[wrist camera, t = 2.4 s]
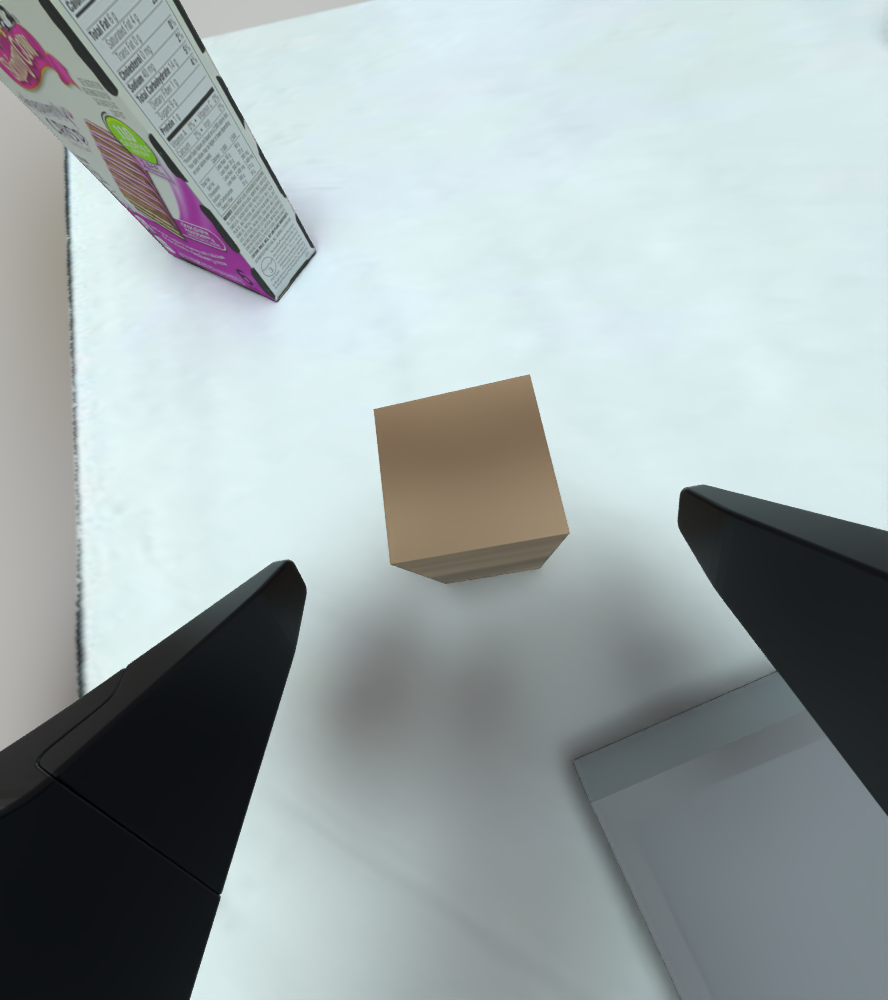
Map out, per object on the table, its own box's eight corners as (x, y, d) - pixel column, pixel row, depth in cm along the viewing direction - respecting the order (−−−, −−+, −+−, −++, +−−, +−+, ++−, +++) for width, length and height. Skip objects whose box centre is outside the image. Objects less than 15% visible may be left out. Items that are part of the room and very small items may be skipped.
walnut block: (539, 568, 18) (569, 533, 9) (445, 583, 18) (390, 564, 10) (520, 478, 19) (529, 374, 10) (432, 495, 19) (373, 409, 11)
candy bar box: (167, 259, 28) (-271, -187, 12) (209, 209, 28) (-154, -272, 13) (277, 308, 25) (-120, -202, 9) (321, 251, 25) (22, -313, 10)
